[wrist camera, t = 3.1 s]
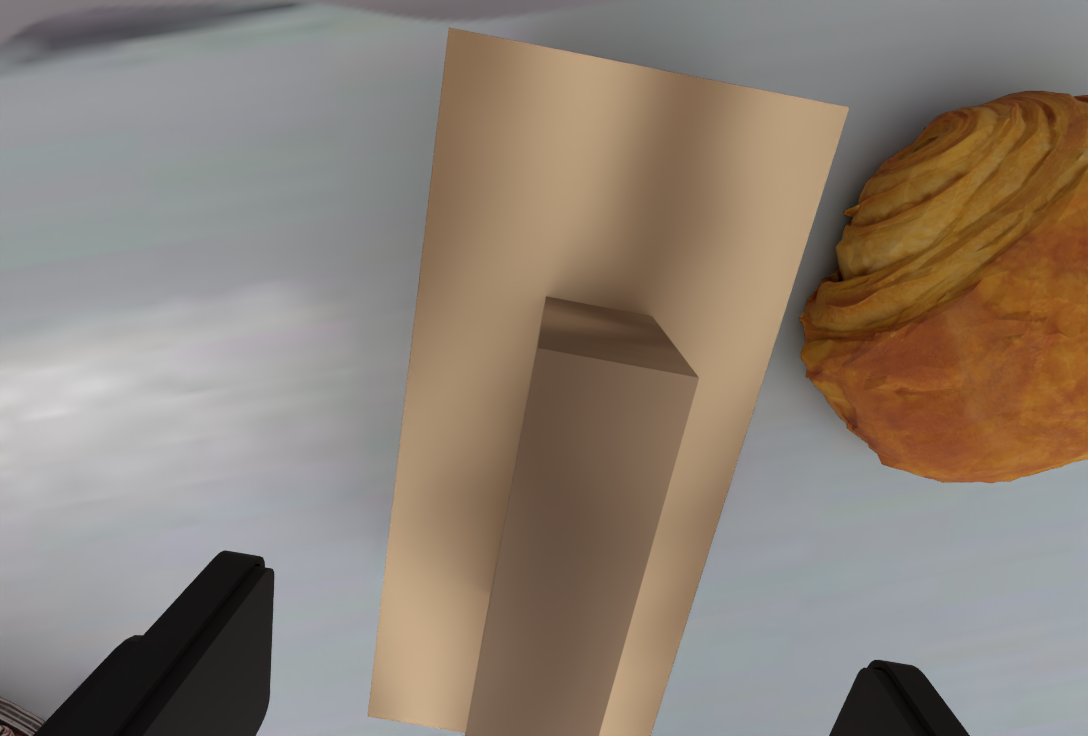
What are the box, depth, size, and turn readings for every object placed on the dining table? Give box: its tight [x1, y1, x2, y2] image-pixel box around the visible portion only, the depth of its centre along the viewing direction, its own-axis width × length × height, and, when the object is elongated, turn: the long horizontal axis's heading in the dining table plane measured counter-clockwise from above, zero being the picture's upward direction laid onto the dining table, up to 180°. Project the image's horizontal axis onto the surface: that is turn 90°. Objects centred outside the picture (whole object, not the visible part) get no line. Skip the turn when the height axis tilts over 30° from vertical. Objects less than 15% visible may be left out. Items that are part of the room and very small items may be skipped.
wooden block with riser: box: [368, 28, 849, 736], centre depth 15 cm, size 10×22×8 cm, turn 170°
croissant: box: [799, 91, 1088, 483], centre depth 21 cm, size 14×16×8 cm
